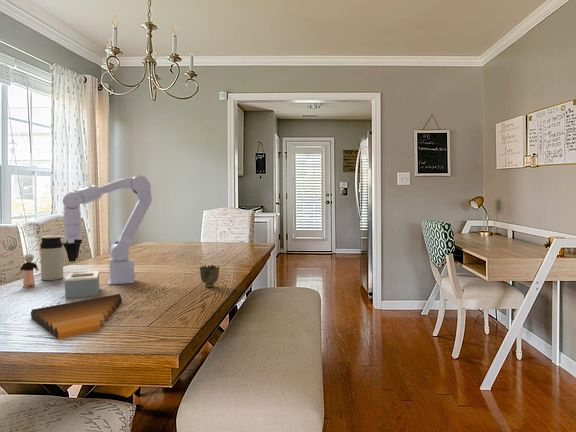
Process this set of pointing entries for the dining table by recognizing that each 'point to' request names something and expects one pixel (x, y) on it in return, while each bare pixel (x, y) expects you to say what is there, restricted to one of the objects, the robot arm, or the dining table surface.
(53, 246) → the travel mug
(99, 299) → the pan flute
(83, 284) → the coin box
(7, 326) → the dining table surface
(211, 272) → the cup
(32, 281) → the grandmother figurine
